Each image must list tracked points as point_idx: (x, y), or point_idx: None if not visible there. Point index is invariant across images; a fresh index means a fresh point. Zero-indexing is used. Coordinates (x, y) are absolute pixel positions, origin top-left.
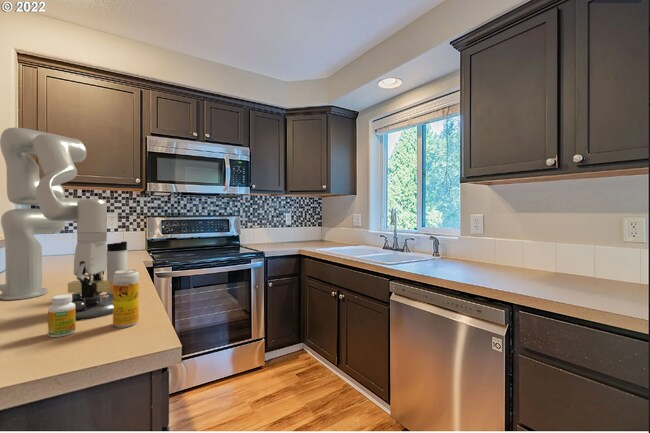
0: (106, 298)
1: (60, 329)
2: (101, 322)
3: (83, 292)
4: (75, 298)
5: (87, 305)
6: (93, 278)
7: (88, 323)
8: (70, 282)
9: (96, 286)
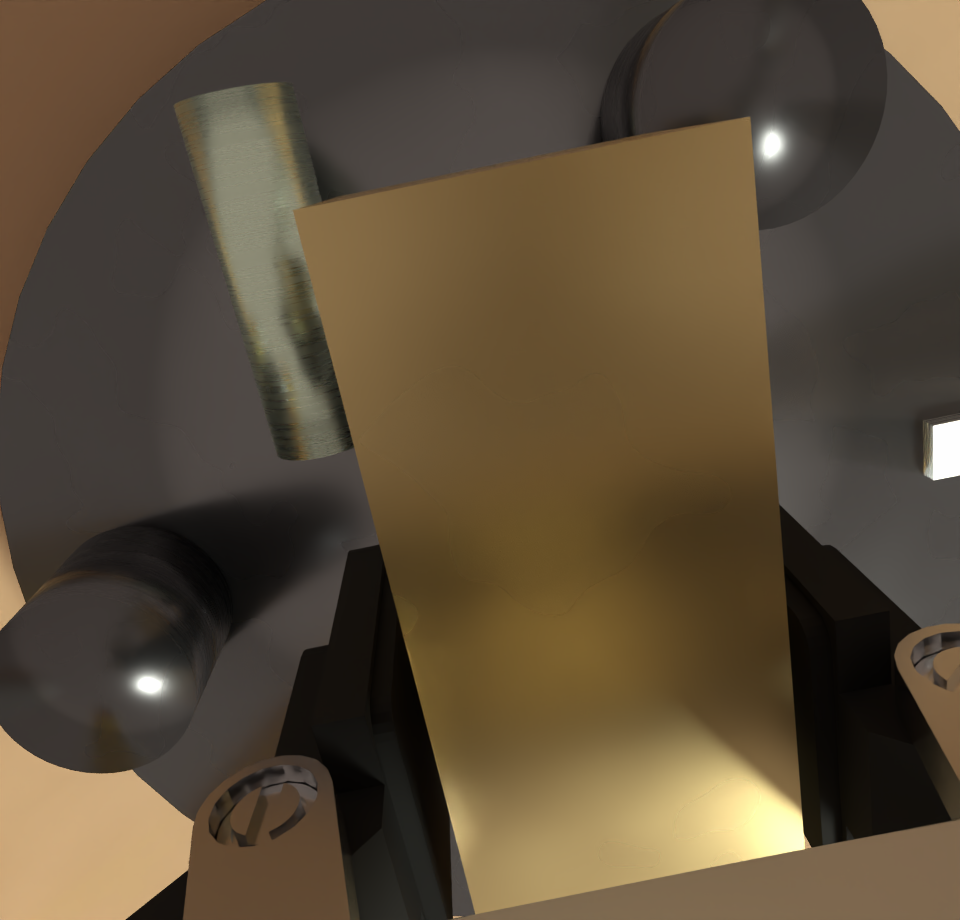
0: (868, 522)
1: None
2: (98, 915)
3: (296, 688)
4: (622, 137)
5: None
6: (910, 739)
7: (31, 814)
8: (439, 202)
9: None
